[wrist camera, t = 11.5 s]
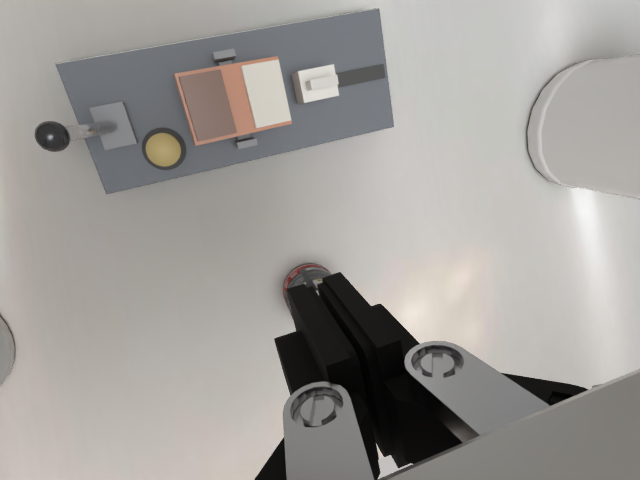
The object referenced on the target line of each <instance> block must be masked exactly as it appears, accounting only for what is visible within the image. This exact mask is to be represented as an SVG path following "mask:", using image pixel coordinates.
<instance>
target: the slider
mask: <svg viewBox="0 0 640 480" xmlns="http://www.w3.org/2000/svg"><path fill="white" fill-rule="evenodd" d="M291 75H292V80H293V85H294V90H295V94H296V99H297V104H300V103H307V102H311V101H316V100H321V99H325V98H330V97H335V96H339V91H338V85H337V84H339V82H338V76H337V75H336V74H335V68H334V64H332V65H327V66H322V67H317V68H312V69H307V70H302V71H297V72H295V73H293V74H291Z"/></svg>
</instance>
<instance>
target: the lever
mask: <svg viewBox="0 0 640 480" xmlns="http://www.w3.org/2000/svg"><path fill="white" fill-rule="evenodd" d="M114 131H115V125H114V123H113V122H111V121H102V122H95V123H88V124H81V125H75V126H68V127H64V126H63V125H61V124H60V123H57V122H53V121H47V122H43V123H41V124H40V125H38V126H37V128H36V130H35V139H36V141H37V143H38V144H39V145H40V146H41V147H42V148H43V149H45V150H48V151H52V152H58V151H62V150H64V149H65V148H66V147H67V146H68V145H69V143H70V141H74V140H79V139H84V138H89V137H94V136H99V135H104V134H109V133H112V132H114Z"/></svg>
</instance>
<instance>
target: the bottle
mask: <svg viewBox="0 0 640 480" xmlns="http://www.w3.org/2000/svg"><path fill="white" fill-rule="evenodd" d="M527 135H528V151H529V154H530V156H531V159H532V161H533V163H534V166H535V168H536V169H537V170H538V171H539V172H540V173H541V174H542V175H543V176H544V177H545V178H546V179H547V180H550V181H552V182H555V183H557V184H561V185H564V186H567V187H571V188H577V187H578V188H583V189H588V190H593V191H598V192H603V193H608V194H613V195H618V196H623V197H628V198H633V199H638V200H640V54H637V55H630V56H623V57H617V58H610V59H594V60H586V61H583V62H580V63H577V64H575V65H573V66H571V67H569V68H567V69H565V70H563V71H561V72H559V73H558V74H557V75H556V76H555V77H554V78H553V79H552V80H551V81H550V82H549V83H548V84H547V85H546V87H545V88H544V89H543V90H542V92H541V94H540V96H539V97H538V99H537V101H536V103H535V105H534V107H533V109H532V112H531V117H530V121H529V126H528V130H527Z"/></svg>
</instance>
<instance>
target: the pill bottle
mask: <svg viewBox="0 0 640 480" xmlns="http://www.w3.org/2000/svg"><path fill="white" fill-rule="evenodd" d="M329 275H331V273H330V272H329V271H328V270H327V269H325V268H324V267H322V266H320V265H316V264H306V265H302V266H300V267H298V268H296V269H295V270H293V271H292V272H291V273H290V274H289V276H288V277H287V279H286V281H285V283H284V288H283V294H284V298H285V301H286V304H287V306H288V308H289V311H290V313H291V315H292V312H291V308H290V304H289V300H288V296H287V291H286V289H287V288H290V287H294V286H297V285H300V284H303V283H304V284H305V285H306V287H310V286H313V287H314V289H315V290H316V292H317V293H318V288H317V284H320V283H322V278H323V277H326V276H329ZM318 295H319V293H318ZM292 318H293V316H292ZM293 320H294V319H293Z"/></svg>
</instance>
